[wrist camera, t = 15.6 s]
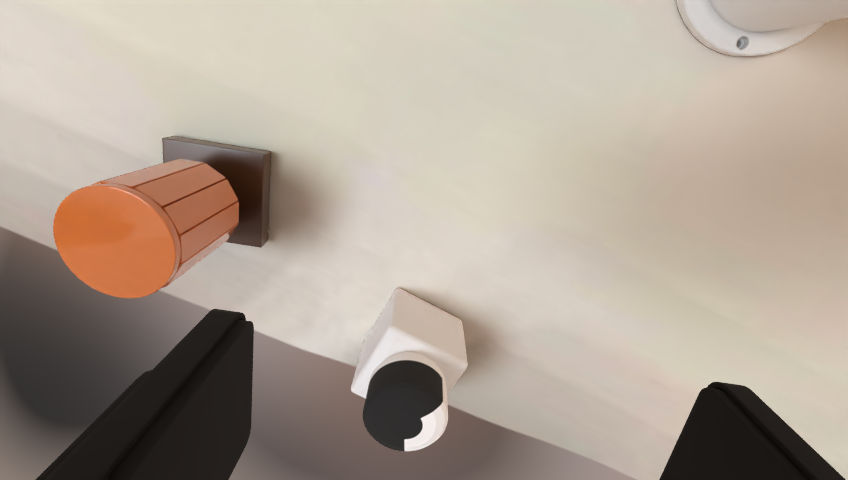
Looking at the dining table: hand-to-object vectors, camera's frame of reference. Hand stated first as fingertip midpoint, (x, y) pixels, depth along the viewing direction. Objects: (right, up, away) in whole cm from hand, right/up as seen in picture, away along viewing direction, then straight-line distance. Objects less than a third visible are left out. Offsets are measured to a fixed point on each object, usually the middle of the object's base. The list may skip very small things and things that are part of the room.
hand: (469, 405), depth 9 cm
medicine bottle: (-2, -5, +32) cm, 33 cm away
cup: (-18, +6, +23) cm, 30 cm away
